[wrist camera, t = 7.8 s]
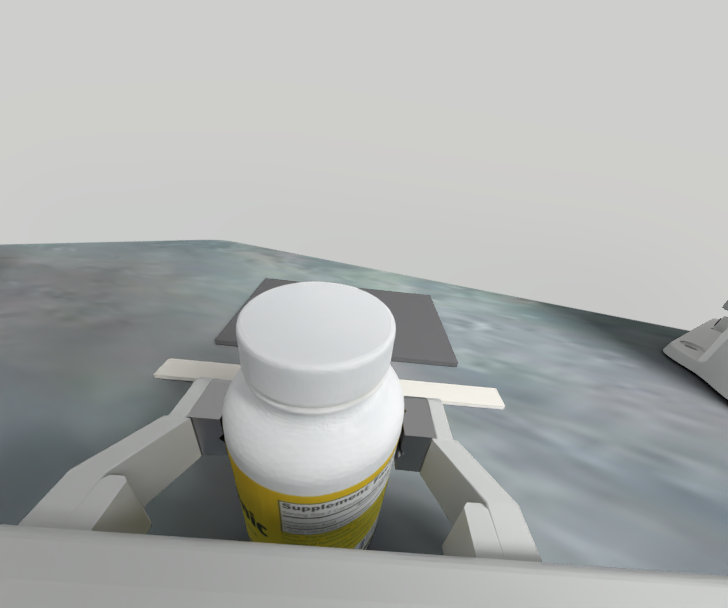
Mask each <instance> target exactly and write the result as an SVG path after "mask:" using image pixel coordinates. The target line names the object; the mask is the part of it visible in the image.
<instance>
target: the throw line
mask: <svg viewBox="0 0 728 608" xmlns="http://www.w3.org/2000/svg"><path fill="white" fill-rule="evenodd" d="M240 368H241V367H240V365H238V364H227V363H216V362H206V361H195V360H184V359H173V358H169V359H168V360H167V361H166V362H165V363H164V364H163V365H162V366H161V367H160V368H159V369H158V370H157V371H156V372H155V373H154V374H153V375H154V378H161V379H172V380H183V381H195V380H196V379H198V378H199V377H205V378H214V379H224V380H233V378H234V376H235V375H236V374H237V372H238V371H239V369H240ZM399 381H400V384H401V387H402V391H403V396H413V397H425V398H436V399H440V400H441V401H442V404H448V405H459V406H470V407H481V408H492V409H503V410H504V408H505V405H504V403H503V401H502V399H501V397H500V396H499V394H498V392H497V390H496V388H485V387H474V386H463V385H453V384H442V383H431V382H420V381H410V380H399Z"/></svg>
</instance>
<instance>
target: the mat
mask: <svg viewBox="0 0 728 608" xmlns="http://www.w3.org/2000/svg"><path fill="white" fill-rule="evenodd" d="M292 283H299V282H296V281H287V280H277V279H268V278H265V280H264V281H263V282H262V283H261V285H260V286H259V287H258V288H257V289H256V291H255V292H254V293H253V294H252V296H251V297H250V298H249V299H248V300H247V302H246V303H245V304H244V305H243V307H242V308H241V309H240V310H239V311H238V313H237V314H236V315H235V316H234V318H233V319H232V320H231V321H230V322H229V324H228V325H227V326H226V327H225V329H224V330H223V331H222V332H221V333H220V335H219V336H218V337H217V338H216V344H221V345H232V346H238V343H237V336H236V323H237V318H238V316H239V314H240V312H241V310H242V309H243V308H244V306H245V305H246V304H247V303H248V302H249V301H251V300H252V299H253V298H255V297H256V296H258V295H260V294H261V293H263V292H265V291H268V290H270V289H273V288H276V287H279V286H283V285H287V284H292ZM358 289H360V290H363V291H365V292H368V293H369V294H371V295H373V296H375V297H376V298H378V299H379V300H380V301H382V302H383V303H384V304H385V305H386V306H387V307H388V308H389V310H390V311H391V313H392V315H393V317H394V320H395V324H396V333H395V339H394V345H393V351H392V357H391V361H400V362H410V363H421V364H431V365H442V366H452V367H457V364H458V362H457V359H456V357H455V355H454V352H453V350H452V347H451V345H450V342H449V340H448V338H447V335H446V333H445V330H444V328H443V326H442V323H441V321H440V318H439V316H438V313H437V311H436V309H435V306H434V304H433V301H432V299H431V297H430V295H421V294H411V293H402V292H392V291H383V290H373V289H363V288H358Z"/></svg>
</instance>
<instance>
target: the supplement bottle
mask: <svg viewBox="0 0 728 608" xmlns="http://www.w3.org/2000/svg"><path fill="white" fill-rule="evenodd" d="M395 333H396V324H395V320H394V317H393V315H392V313H391V311H390V310H389V308H388V307H387V306H386V305H385V304H384V303H383V302H382V301H380V300H379V299H378V298H376V297H375V296H373V295H371V294H369V293H368V292H365V291H363V290H360V289H358V288H355V287H352V286H348V285H344V284H339V283H331V282H317V281H311V282H299V283H292V284H287V285H283V286H279V287H276V288H273V289H270V290H268V291H265V292H263V293H261V294H260V295H258V296H256V297H255V298H253V299H252V300H251V301H249V302H248V303H247V304H246V305H245V306H244V308H243V309H242V310H241V312H240V314H239V316H238V318H237V323H236V336H237V343H238V350H239V361H240V367H241V368H240V369H239V371H238V372H237V374H236V375H235V376H234V378H233V380H232V381H231V383H230V385H229V388H228V390H227V393H226V396H225V399H224V405H223V414H222V422H223V431H224V437H225V443H226V447H227V451H228V455H229V459H230V462H231V466H232V470H233V474H234V478H235V483H236V488H237V491H238V496H239V499H240V503H241V507H242V510H243V514H244V519H245V523H246V528H247V532H248V535H249V539H250V542H262V543H276V544H290V545H304V546H318V547H332V548H347V549H361V550H366V548H367V546H368V545H369V542H370V540H371V538H372V536H373V533H374V530H375V528H376V524H377V521H378V517H379V513H380V509H381V506H382V502H383V498H384V494H385V490H386V486H387V483H388V478H389V474H390V471H391V467H392V463H393V459H394V455H395V452H396V447H397V444H398V440H399V437H400V433H401V428H402V423H403V417H404V396H403V391H402V387H401V384H400V381H399V379H398V377H397V375H396V373H395V371H394V369H393V368H392V366H391V365H390V362H391V357H392V351H393V345H394V339H395Z"/></svg>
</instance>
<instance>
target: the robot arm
mask: <svg viewBox="0 0 728 608" xmlns="http://www.w3.org/2000/svg"><path fill="white" fill-rule="evenodd" d="M722 308H724V309H725V310H728V301H727V302H726V303H725V304H724V305H723V307H722ZM663 352H664V353H665V354H666V355H668V356H669V357H670V358H672V359H673V360H675V361H676V362H678V363H680V364H681V365H683V366H684V367H686V368H688V369H689V370H691V371H693V372H694V373H696V374H697V375H699V376H700V377H701V378H702V379H704V380H705V381H706V382H707V383H708V384H709V385H711V386H712V387H713V388H714V389H715V390H716V391H717V392H719V393H720V394H721V395H722V396H724V397H725V398H726V399H727V400H728V317H723V318H722V319H712V320H710V321H708V322H706V323H704V324H702V325H701V326H699V327H697V328H695V329H694V330H692V331H690V332H688V333H686V334H684V335H683V336H681V337H679V338H677V339H675V340H674V341H672V342H670V343H669V344H668V345H667V346H666V347H665V348H664V349H663ZM231 381H232V380H224V379H214V378H205V377H199V378H198V379H196V380H195V381H194V383H193V384H192V385H191V387H190V388H189V389H188V390H187V392H186V393H185V394H184V396H183V397H182V398H181V400H180V401H179V402H178V403H177V405H176V406H175V407H174V409H173V410H172V411H171V413H170V414H169V415H168V416H162V417H160V418H158V419H157V420H155V421H153V422H151V423H150V424H148V425H146V426H145V427H143V428H141V429H139V430H138V431H136V432H134V433H132V434H131V435H129V436H127V437H125V438H124V439H122V440H120V441H119V442H117V443H115V444H113V445H112V446H110V447H108V448H106V449H105V450H103V451H101V452H100V453H98V454H96V455H94V456H93V457H91V458H89V459H87V460H86V461H84V462H82V463H81V464H79V465H77V466H75V467H74V468H72V469H70V470H69V471H68V472H67V473H66V474H65V475H64V476H63V477H62V478H61V479H60V481H59V482H58V483H57V484H56V485H55V486H54V487H53V488H52V489H51V490H50V491H49V492H48V493H47V494H46V495H45V496H44V497H43V499H42V500H41V501H40V502H39V503H38V504H37V505H36V506H35V507H34V508H33V509H32V510H31V511H30V512H29V513H28V514H27V515H26V517H25V518H24V519H23V520H22V521H21V522H20V523H19V524H18V525H5V524H0V608H728V575H715V574H700V573H686V572H672V571H658V570H644V569H630V568H616V567H602V566H587V565H573V564H559V563H545V562H542V560H541V558H540V555H539V553H538V551H537V548H536V546H535V544H534V541H533V539H532V536H531V534H530V532H529V529H528V527H527V524H526V522H525V520H524V517H523V515H522V512H521V510H520V508H519V505H518V504H517V503H516V502H515V501H514V500H513V499H512V498H511V497H510V496H509V495H508V494H507V493H506V491H505V490H504V489H503V488H502V487H501V486H500V485H499V484H498V483H497V482H496V481H495V480H494V479H493V478H492V477H491V476H490V475H489V473H488V472H487V471H486V470H485V469H484V468H483V467H482V466H481V465H480V464H479V463H478V462H477V461H476V460H475V459H474V458H473V457H472V455H471V454H470V453H469V452H468V451H467V450H466V449H465V448H464V447H463V446H462V445H461V444H460V443H459V442H458V441H456V440H453V438H452V434H451V431H450V428H449V424H448V421H447V417H446V414H445V411H444V407H443V404H442V401H441V400H440V399H436V398H425V397H413V396H404V417H403V423H402V428H401V433H400V437H399V440H398V444H397V447H396V452H395V455H394V461H395V469H396V470H405V471H414V472H420V475H421V476H422V478H423V479H424V481H425V483H426V484H427V486H428V487H429V489H430V491H431V492H432V494H433V495H434V497H435V498H436V500H437V502H438V503H439V505H440V506H441V508H442V510H443V511H444V513H445V514H446V516H447V517H448V519H449V521H450V522H451V524H452V525H453V527H452V529H451V531H450V533H449V534H448V536H447V538H446V540H445V541H444V543H443V545H442V548H443V554H444V555H432V554H417V553H403V552H389V551H375V550H361V549H347V548H332V547H318V546H304V545H290V544H276V543H262V542H247V541H233V540H219V539H205V538H190V537H176V536H162V535H148V534H147V533H148V531H149V529H150V528H151V526H152V524H151V520H150V518H149V516H148V515H147V513H146V511H145V509H144V508H143V507H144V506H146V505H147V504H148V503H149V502H150V501H151V500H152V499H154V498H155V497H156V496H157V495H158V494H159V493H160V492H162V491H163V490H164V489H165V488H166V487H167V486H168V485H169V484H171V483H172V482H173V481H174V480H175V479H176V478H177V477H179V476H180V475H181V474H182V473H183V472H184V471H185V470H187V469H188V468H189V467H190V466H191V465H192V464H193V463H194V462H196V461H197V460H198V459H199V458H200V457H201V456H202V455H221V456H228V451H227V447H226V443H225V437H224V431H223V422H222V414H223V405H224V399H225V396H226V393H227V390H228V388H229V385H230V383H231Z"/></svg>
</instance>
